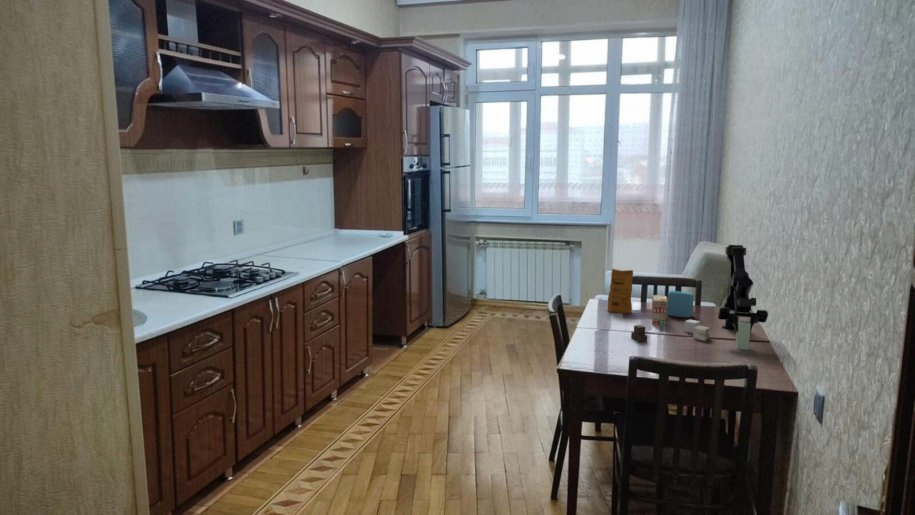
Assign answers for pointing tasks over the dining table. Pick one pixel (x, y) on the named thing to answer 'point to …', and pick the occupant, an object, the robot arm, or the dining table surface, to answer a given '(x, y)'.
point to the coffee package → (620, 291)
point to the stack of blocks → (659, 310)
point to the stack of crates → (639, 333)
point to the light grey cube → (691, 325)
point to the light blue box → (680, 304)
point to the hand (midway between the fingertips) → (743, 332)
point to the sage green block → (743, 335)
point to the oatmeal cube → (701, 333)
